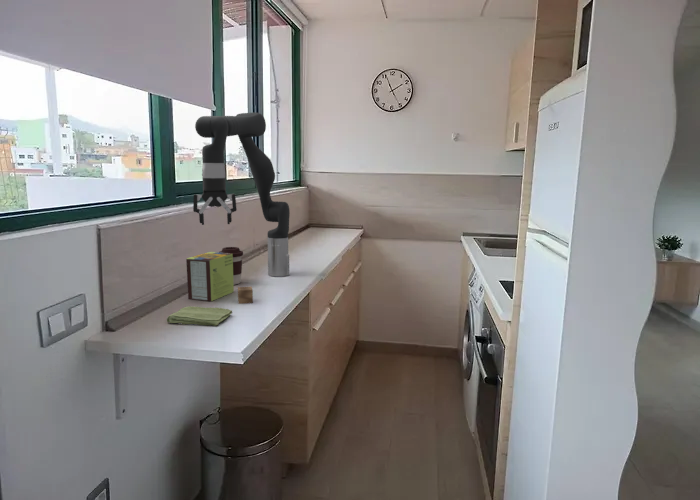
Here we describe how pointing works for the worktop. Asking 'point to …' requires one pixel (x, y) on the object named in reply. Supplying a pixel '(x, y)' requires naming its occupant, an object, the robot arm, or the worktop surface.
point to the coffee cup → (235, 262)
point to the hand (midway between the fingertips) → (215, 224)
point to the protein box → (210, 276)
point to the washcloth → (199, 316)
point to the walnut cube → (245, 295)
